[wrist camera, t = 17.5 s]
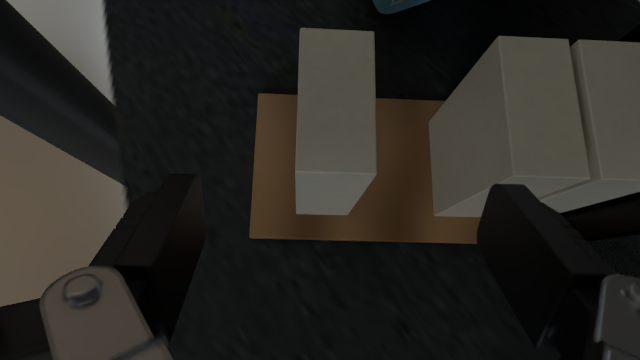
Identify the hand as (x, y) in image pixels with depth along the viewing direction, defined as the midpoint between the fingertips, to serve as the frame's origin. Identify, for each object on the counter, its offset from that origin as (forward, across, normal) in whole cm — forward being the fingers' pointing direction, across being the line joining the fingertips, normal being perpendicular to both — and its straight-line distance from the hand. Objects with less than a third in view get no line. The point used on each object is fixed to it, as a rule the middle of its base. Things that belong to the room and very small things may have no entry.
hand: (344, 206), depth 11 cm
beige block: (+12, 0, +5) cm, 13 cm away
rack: (+12, -5, +5) cm, 14 cm away
